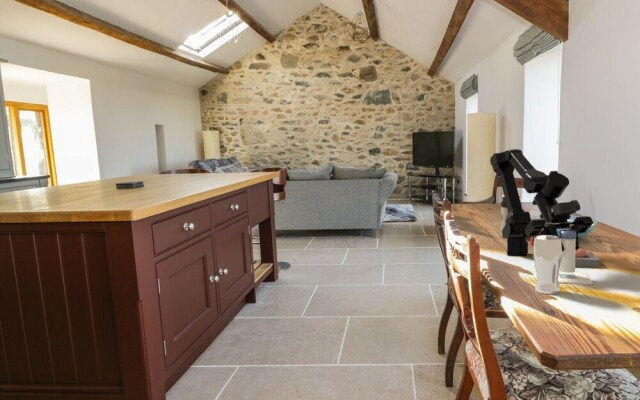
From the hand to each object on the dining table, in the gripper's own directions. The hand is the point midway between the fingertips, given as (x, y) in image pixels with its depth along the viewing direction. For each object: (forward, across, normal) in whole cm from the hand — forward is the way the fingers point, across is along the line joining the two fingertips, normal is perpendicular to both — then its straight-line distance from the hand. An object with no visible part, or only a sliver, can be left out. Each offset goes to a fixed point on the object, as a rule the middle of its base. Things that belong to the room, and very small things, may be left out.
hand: (570, 250), depth 130 cm
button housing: (-5, +13, +17) cm, 22 cm away
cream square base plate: (+5, 0, +7) cm, 9 cm away
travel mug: (-35, +12, +48) cm, 61 cm away
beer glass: (+12, -12, +1) cm, 17 cm away
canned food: (-24, +15, +37) cm, 46 cm away
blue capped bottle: (+4, 0, +6) cm, 7 cm away
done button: (-6, +13, +16) cm, 21 cm away
